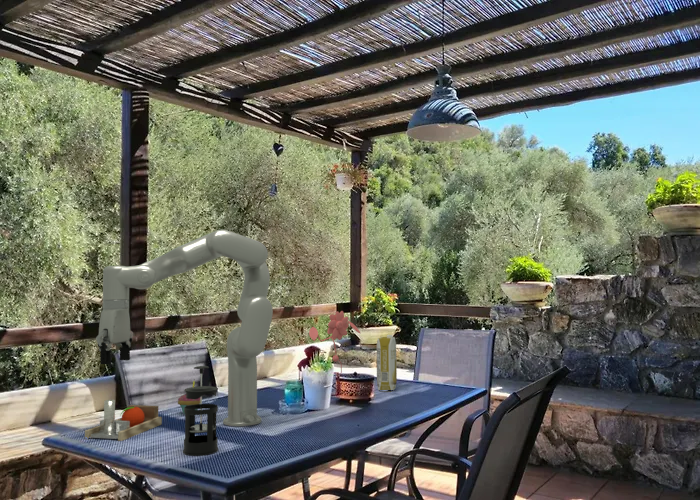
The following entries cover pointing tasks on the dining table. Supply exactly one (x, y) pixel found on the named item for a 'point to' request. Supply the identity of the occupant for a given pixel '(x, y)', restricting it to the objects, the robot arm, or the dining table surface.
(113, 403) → the press jaw
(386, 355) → the juice carton
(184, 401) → the cupcake
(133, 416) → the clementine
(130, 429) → the wooden tray
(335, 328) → the pink artificial flower
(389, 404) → the dining table surface
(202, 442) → the french press
